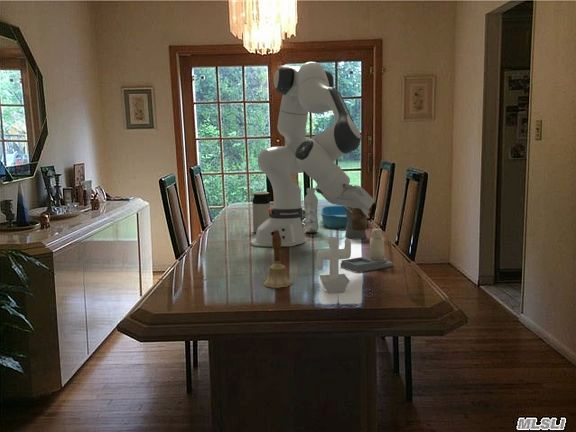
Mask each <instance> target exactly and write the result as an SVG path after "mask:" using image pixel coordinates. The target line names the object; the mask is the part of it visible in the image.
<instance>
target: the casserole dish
mask: <svg viewBox="0 0 576 432" xmlns="http://www.w3.org/2000/svg"><path fill="white" fill-rule="evenodd" d="M320 215H321V217H322V218H321V219H322V221H323V224H324V225H325V226H326V227H327V228H330V229H346V226H347V222H348V218H347V215H346V211H345V209H344V207H343V206H341V205H327V206H322V208H321V209H320Z"/></svg>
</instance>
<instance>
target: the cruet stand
mask: <svg viewBox="0 0 576 432" xmlns="http://www.w3.org/2000/svg"><path fill="white" fill-rule="evenodd" d="M382 231H383V230H382V228H372V231H371V236H372V237H369V257H367V258H366V257H363V256H360V257H354V258H348V259H341V262H340V267H341V268H344V269H346V270H349V271H352V272H355V273H360V272H361V273H362V272H368V271H374V270H378V269H384V268H390V267H393V266H394V262H393V261H389V260H387V258H385V237H383V236H382V235H383V234H382Z"/></svg>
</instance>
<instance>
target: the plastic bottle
mask: <svg viewBox="0 0 576 432" xmlns="http://www.w3.org/2000/svg"><path fill="white" fill-rule="evenodd" d="M315 188H316V187H307V188H306V195H305V196H304V198H303V204H304V212H305V213H304V214H305V218H304V227H303V229H304V231H305V233H310V234H313V233H317V232H318V231H319V222H318V220H319V219H318V205H319V204H318V203H319V199H318V196H317V195H316V194H315V193H316V190H315Z"/></svg>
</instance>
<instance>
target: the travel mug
mask: <svg viewBox="0 0 576 432" xmlns="http://www.w3.org/2000/svg"><path fill="white" fill-rule="evenodd" d="M252 194H253V198H252V199H251V200H252V227H253V228H252V229H253V232H254V233H256V232H257V229H258V227H259V226H260V225H261V224H262V223H264V222H265V221H266V220H267V219H269V218H270V217H269V213H268V209H269V208H271V199H270V198H269V194H270V192H268V191H255V192H254V191H253V192H252Z"/></svg>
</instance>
